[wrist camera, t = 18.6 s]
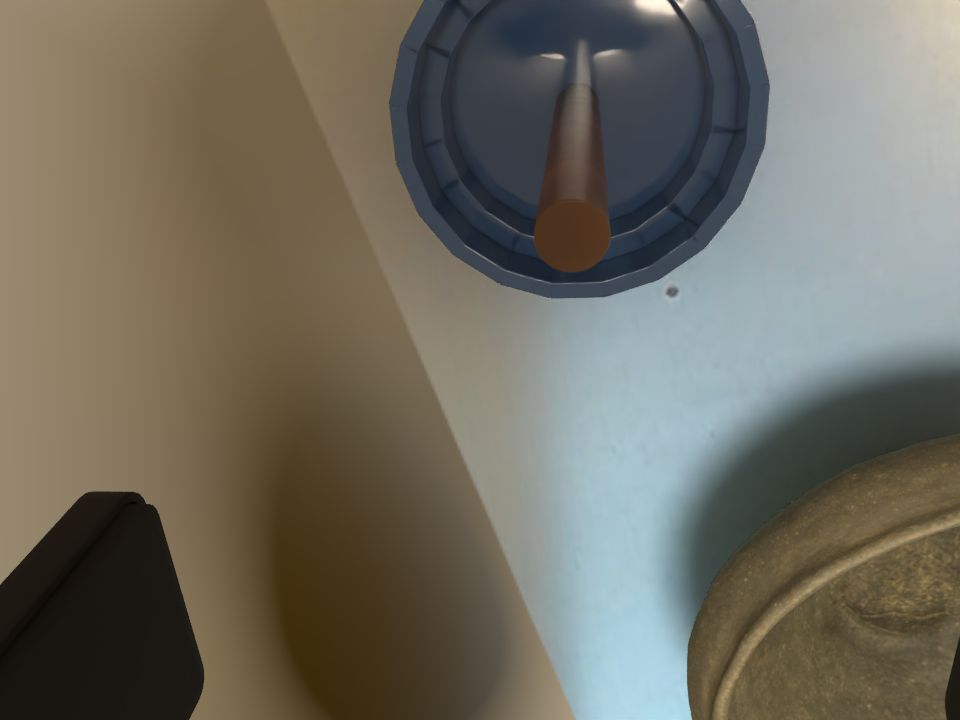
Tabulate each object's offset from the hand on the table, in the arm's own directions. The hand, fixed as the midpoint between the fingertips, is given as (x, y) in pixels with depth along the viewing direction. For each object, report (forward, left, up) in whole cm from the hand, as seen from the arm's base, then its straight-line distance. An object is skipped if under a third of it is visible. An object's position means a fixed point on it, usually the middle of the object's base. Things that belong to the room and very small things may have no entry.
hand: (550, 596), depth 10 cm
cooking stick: (0, 0, -34) cm, 34 cm away
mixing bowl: (0, 0, -34) cm, 34 cm away
